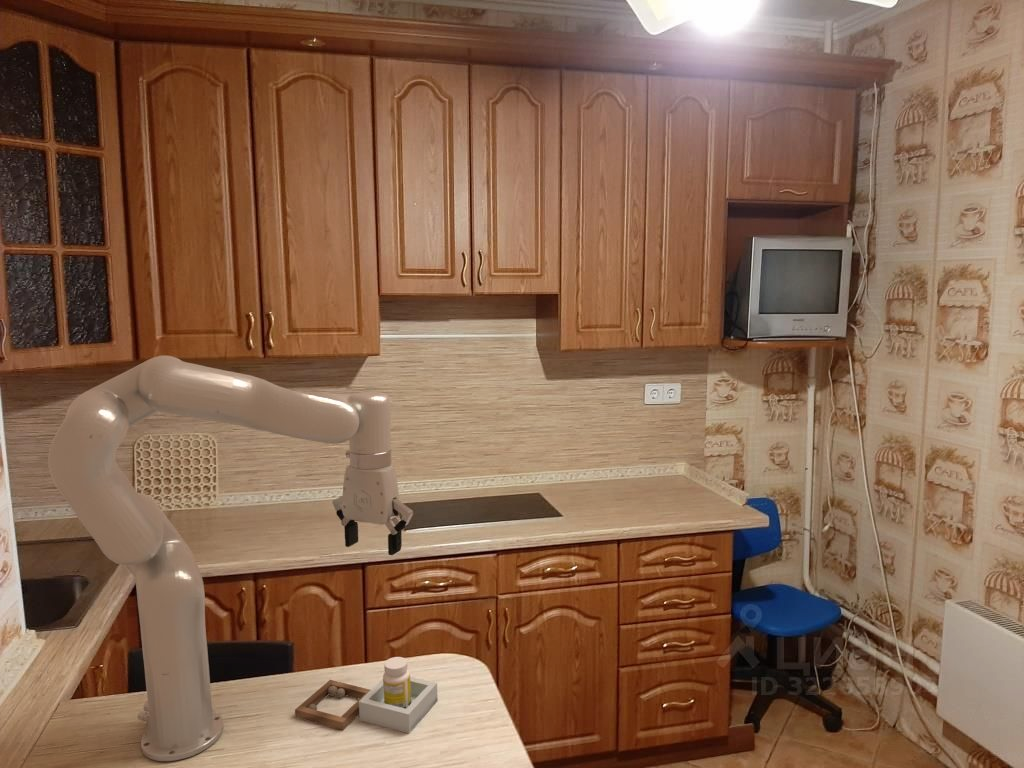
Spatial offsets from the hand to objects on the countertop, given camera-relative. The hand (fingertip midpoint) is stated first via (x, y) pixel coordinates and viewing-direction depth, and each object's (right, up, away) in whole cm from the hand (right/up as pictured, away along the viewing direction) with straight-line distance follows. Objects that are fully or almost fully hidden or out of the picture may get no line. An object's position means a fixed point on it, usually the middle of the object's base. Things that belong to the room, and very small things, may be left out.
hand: (373, 548), depth 133 cm
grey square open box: (+6, -27, -6) cm, 29 cm away
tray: (-6, -27, -5) cm, 28 cm away
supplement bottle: (+6, -27, -6) cm, 28 cm away
